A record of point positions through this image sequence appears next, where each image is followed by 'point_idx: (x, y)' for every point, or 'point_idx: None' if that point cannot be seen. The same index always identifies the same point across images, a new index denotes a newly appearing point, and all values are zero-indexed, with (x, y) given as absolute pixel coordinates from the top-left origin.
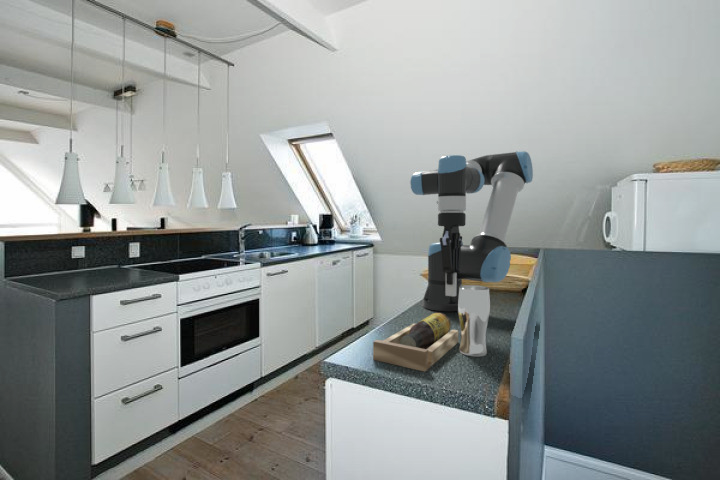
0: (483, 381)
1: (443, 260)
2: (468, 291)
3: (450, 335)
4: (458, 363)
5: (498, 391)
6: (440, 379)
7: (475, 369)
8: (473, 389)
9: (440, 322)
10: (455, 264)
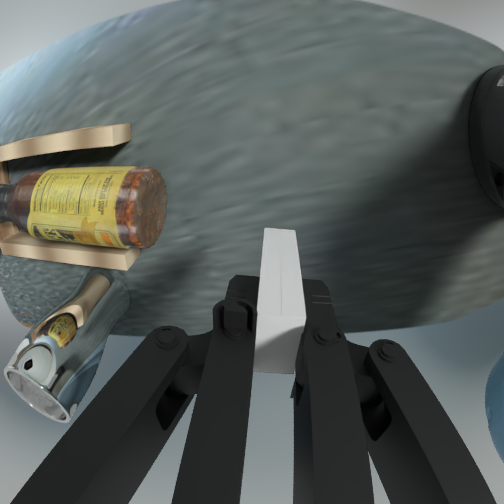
0: (33, 311)
1: (97, 411)
2: (10, 379)
3: (80, 262)
4: (49, 276)
5: (29, 324)
6: (3, 265)
7: (50, 301)
8: (14, 302)
9: (77, 242)
10: (295, 424)
